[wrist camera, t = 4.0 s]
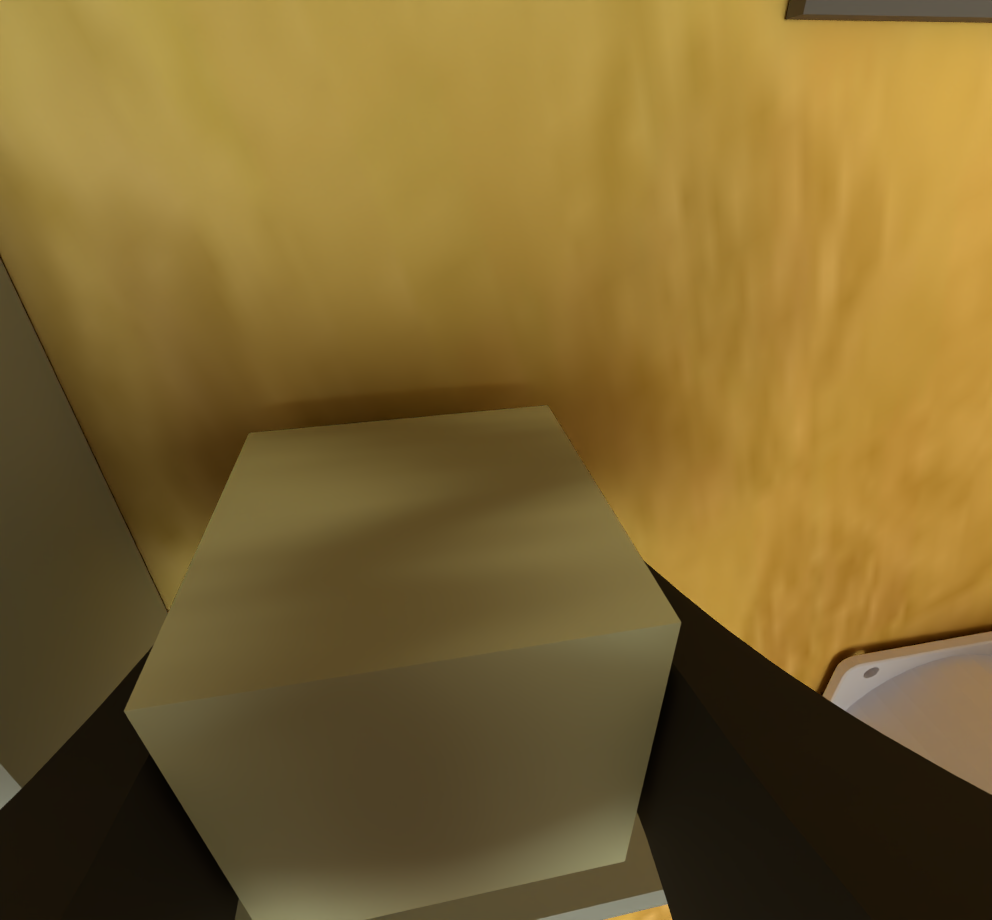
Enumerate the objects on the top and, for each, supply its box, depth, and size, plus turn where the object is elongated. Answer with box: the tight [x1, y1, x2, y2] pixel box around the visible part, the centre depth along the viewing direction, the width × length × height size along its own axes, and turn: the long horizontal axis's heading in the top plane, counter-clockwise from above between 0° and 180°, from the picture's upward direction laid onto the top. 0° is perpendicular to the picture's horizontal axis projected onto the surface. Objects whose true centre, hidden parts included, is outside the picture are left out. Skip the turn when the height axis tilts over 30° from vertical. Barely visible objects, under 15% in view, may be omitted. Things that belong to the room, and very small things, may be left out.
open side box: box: [0, 259, 668, 920], centre depth 9 cm, size 12×21×4 cm, turn 0°
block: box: [124, 405, 681, 920], centre depth 8 cm, size 5×5×5 cm
